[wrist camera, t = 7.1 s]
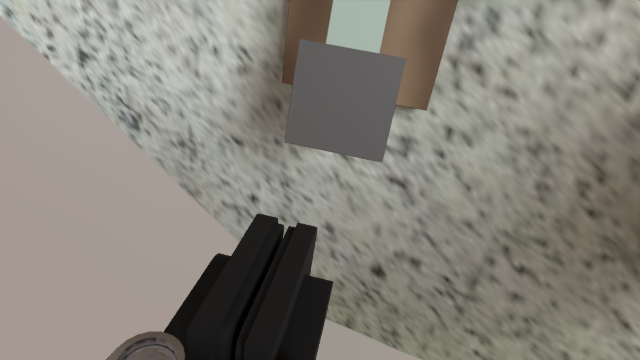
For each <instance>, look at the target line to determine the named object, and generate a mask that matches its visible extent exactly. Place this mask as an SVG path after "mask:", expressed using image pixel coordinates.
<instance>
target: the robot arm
mask: <svg viewBox="0 0 640 360" xmlns="http://www.w3.org/2000/svg"><path fill="white" fill-rule="evenodd" d="M283 232H284V225H282V224H278V218H276V217H272V216H267V215H263V214H257V215H256V217H255V218H254V220H253V221H252V223H251V225H250V226H249V228H248V230H247V231H246V233H245V234H244V236H243V238H242V239H241V241H240V243H239V244H238V246H237V248H236V249H235V251H234V252H233V254H232V256H228V255H224V254H220V253H218V254H217V255H215V257H214V258H213V259H212V261H211V262H210V264H209V265H208V266H207V268H206V269H205V271H204V272H203V274H202V275H201V277H200V279H199V280H198V281H197V283H196V285H195V286H194V287H193V289H192V290H191V292H190V293H189V295H188V297H187V298H186V299H185V301H184V302H183V304H182V305H181V307H180V308H179V310H178V311H177V313H176V314H175V316H174V317H173V319H172V320H171V322H170V323H169V325H168V326H167V328H166V329H165V331H164V332H146V333H143V334H138V335H136V336H134V337H132V338H130V339H128V340H126V341H125V342H124V343H123V344H121V345H120V346H119V347H118V348H117V349H116V350H115V351H114V352H113V353H112V354H111V355H110V356H109V357H108V358H107V359H106V360H316V356H317V352H318V348H319V343H320V339H321V335H322V331H323V327H324V322H325V318H326V313H327V309H328V304H329V300H330V295H331V290H332V285H333V282H332V281H328V280H324V279H320V278H316V277H312V276H310V271H311V265H312V259H313V253H314V247H315V241H316V235H317V227H314V226H310V225H306V224H301V223H297V225H296V228H295V227H291V226H289V227H288V229H287V231H286V234H285V236H284V238H283Z"/></svg>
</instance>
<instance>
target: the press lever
mask: <svg viewBox="0 0 640 360" xmlns="http://www.w3.org/2000/svg"><path fill="white" fill-rule="evenodd" d="M390 2H391V0H333V5H332V11H331V17H330V23H329V28H328V34H327V40H326V44H325V43H320V42H314V41H309V40H303V39H300V41H299V48H298V54H297V61H296V68H295V75H294V81H293V88H292V95H291V101H290V108H289V115H288V122H287V128H286V135H285V142H286V143H290V144H295V145H300V146H305V147H310V148H314V149H319V150H324V151H329V152H334V153H338V154H343V155H348V156H353V157H358V158H362V159H367V160H372V161H377V162H382V161H383V156H384V152H385V148H386V144H387V139H388V135H389V131H390V126H391V122H392V118H393V114H394V109H395V105H396V101H397V96H398V92H399V88H400V84H401V79H402V75H403V71H404V66H405V62H406V58H402V57H397V56H391V55H386V54H380V49H381V44H382V40H383V35H384V30H385V25H386V21H387V16H388V11H389V7H390Z"/></svg>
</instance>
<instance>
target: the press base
mask: <svg viewBox="0 0 640 360" xmlns="http://www.w3.org/2000/svg"><path fill="white" fill-rule="evenodd" d="M457 2H458V0H391V2H390V7H389V11H388V16H387V21H386V25H385V30H384V35H383V40H382V44H381V49H380V54H386V55H391V56H397V57H402V58H406V62H405V66H404V71H403V75H402V79H401V84H400V88H399V92H398V96H397V101H396V105H401V106H406V107H411V108H416V109H422V110H427V107H428V103H429V100H430V96H431V93H432V89H433V86H434V82H435V79H436V75H437V72H438V68H439V65H440V61H441V58H442V54H443V51H444V47H445V44H446V40H447V37H448V33H449V30H450V26H451V23H452V20H453V16H454V13H455V9H456V6H457ZM332 5H333V0H290V2H289V13H288V24H287V34H286V45H285V56H284V67H283V78H282V83H287V84H293V81H294V75H295V68H296V61H297V54H298V48H299V41H300V39H303V40H309V41H314V42H320V43H325V44H326V40H327V34H328V28H329V23H330V17H331V11H332Z"/></svg>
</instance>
